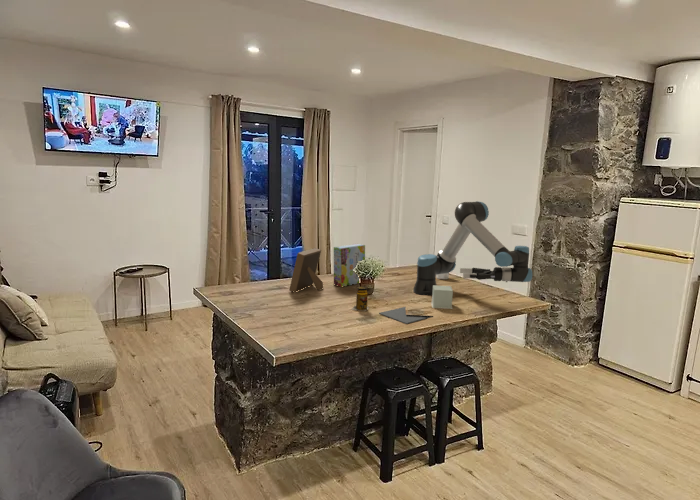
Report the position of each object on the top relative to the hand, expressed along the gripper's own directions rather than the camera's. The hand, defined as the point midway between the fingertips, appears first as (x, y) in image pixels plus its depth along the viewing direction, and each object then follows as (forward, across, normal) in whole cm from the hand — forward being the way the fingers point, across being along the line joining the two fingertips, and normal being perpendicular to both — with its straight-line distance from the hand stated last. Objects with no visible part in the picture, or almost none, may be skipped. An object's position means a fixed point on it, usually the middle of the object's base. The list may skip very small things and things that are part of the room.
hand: (461, 272), depth 253 cm
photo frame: (+90, +25, -19) cm, 95 cm away
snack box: (+67, +45, -19) cm, 83 cm away
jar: (+3, +75, -20) cm, 78 cm away
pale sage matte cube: (+10, 0, -19) cm, 21 cm away
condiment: (+54, -9, -20) cm, 59 cm away
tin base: (+10, 0, -20) cm, 23 cm away
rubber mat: (+30, -17, -20) cm, 40 cm away
